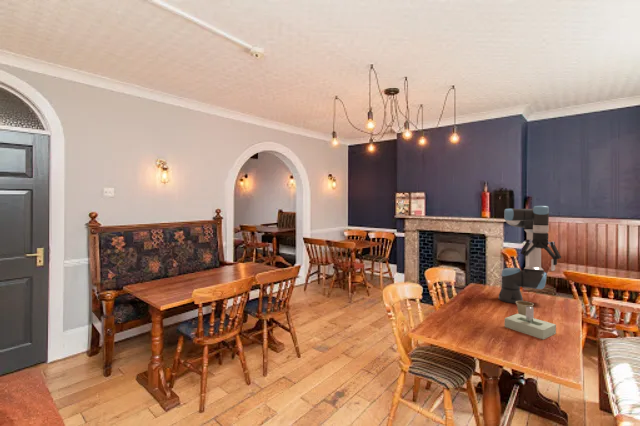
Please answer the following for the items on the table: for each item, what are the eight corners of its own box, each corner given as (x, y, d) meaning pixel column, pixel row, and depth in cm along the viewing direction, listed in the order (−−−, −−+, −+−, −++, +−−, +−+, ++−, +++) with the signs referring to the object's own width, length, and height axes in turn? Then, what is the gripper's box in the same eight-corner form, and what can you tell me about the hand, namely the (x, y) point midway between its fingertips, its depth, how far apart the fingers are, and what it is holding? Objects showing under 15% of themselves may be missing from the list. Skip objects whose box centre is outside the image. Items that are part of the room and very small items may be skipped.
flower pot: (513, 316, 198) (514, 303, 198) (517, 312, 205) (517, 299, 205) (531, 320, 192) (531, 306, 192) (534, 316, 199) (534, 302, 198)
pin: (527, 326, 181) (528, 305, 180) (534, 328, 178) (534, 307, 177) (524, 327, 179) (524, 306, 179) (531, 330, 176) (531, 308, 175)
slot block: (517, 321, 191) (517, 313, 190) (555, 333, 174) (556, 324, 173) (504, 326, 183) (504, 318, 183) (543, 339, 166) (543, 330, 166)
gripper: (514, 231, 194) (514, 265, 195) (562, 234, 173) (561, 273, 174) (521, 230, 198) (520, 264, 199) (568, 233, 177) (567, 271, 178)
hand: (539, 268), depth 187 cm, fingers open, 13 cm apart
